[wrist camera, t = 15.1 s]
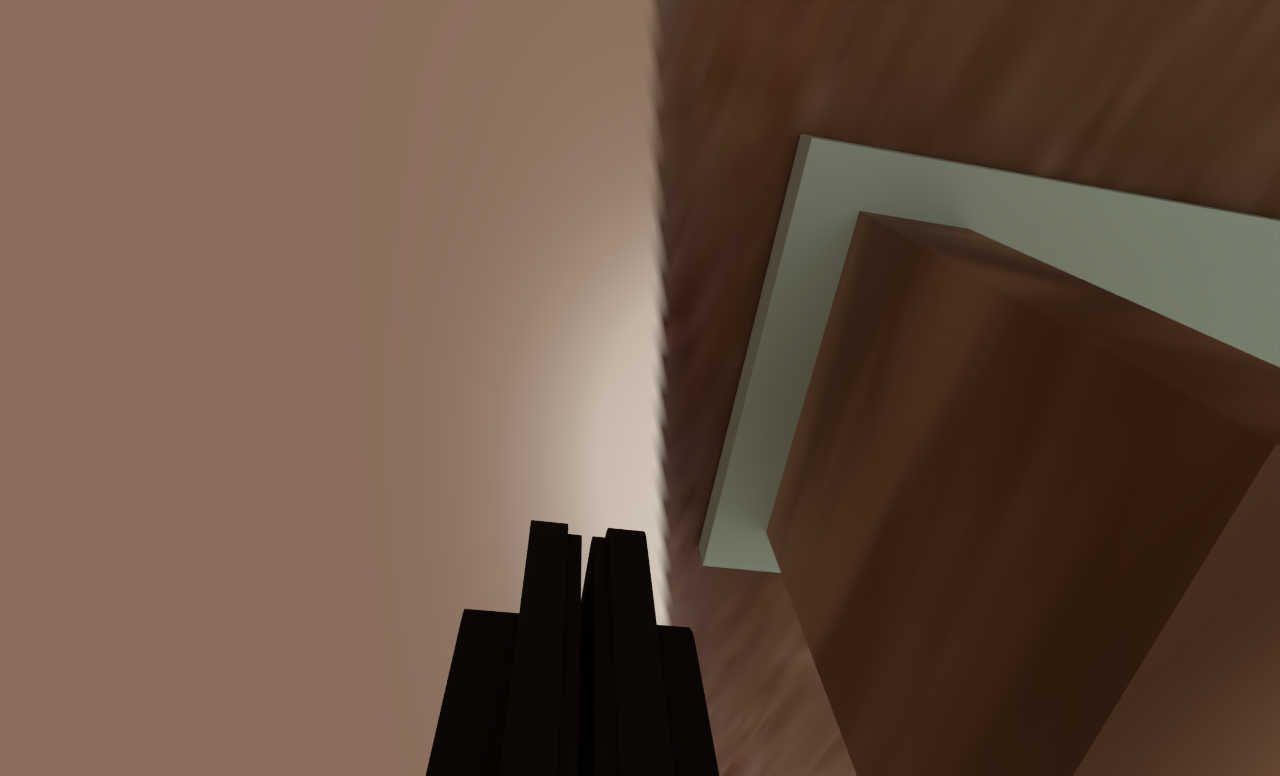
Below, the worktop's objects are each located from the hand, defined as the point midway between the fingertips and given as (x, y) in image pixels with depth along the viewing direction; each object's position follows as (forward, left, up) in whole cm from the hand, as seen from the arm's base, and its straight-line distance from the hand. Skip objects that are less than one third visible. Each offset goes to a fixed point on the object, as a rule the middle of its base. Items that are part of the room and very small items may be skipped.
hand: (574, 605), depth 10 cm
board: (-8, 0, -10) cm, 12 cm away
